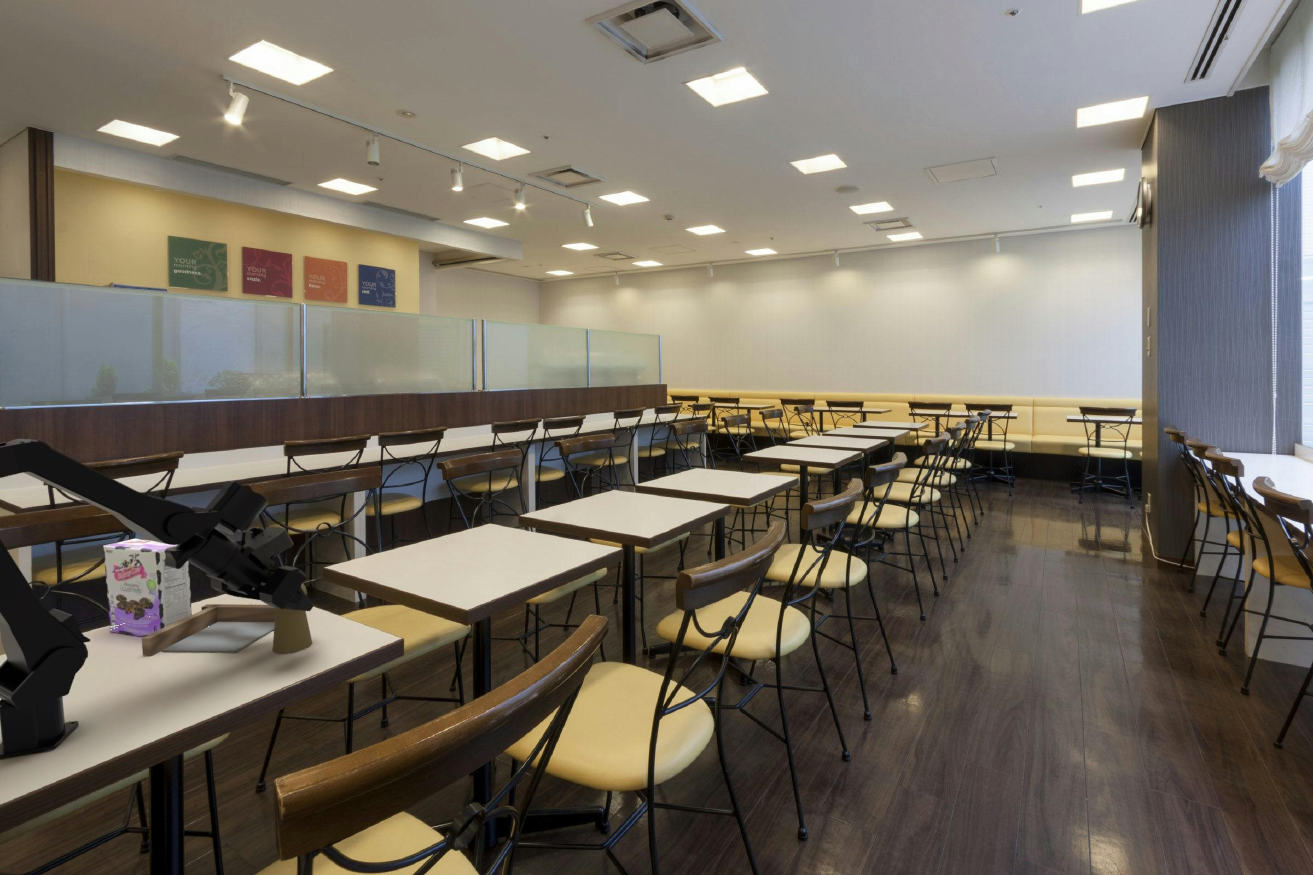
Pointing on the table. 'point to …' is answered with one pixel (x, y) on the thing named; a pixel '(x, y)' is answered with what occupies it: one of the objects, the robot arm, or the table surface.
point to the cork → (291, 630)
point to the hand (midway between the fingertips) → (295, 604)
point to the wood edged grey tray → (213, 630)
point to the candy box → (144, 587)
